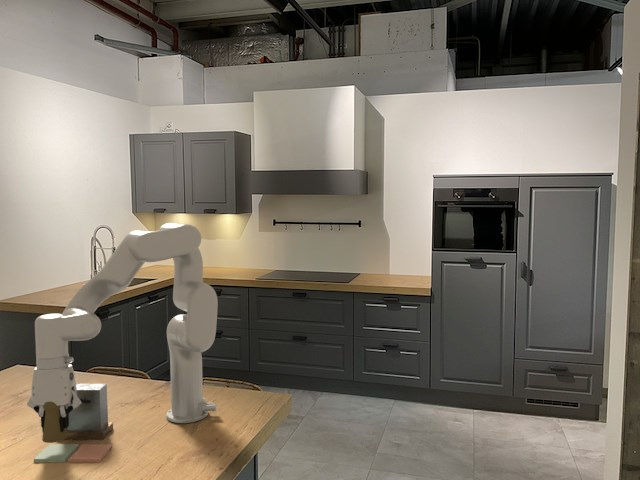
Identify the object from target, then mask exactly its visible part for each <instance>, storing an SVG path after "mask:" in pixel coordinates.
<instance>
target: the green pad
mask: <svg viewBox="0 0 640 480" xmlns="http://www.w3.org/2000/svg"><path fill="white" fill-rule="evenodd" d="M79 447H80V445H79V444H48V445H47V446H46V447H45V448H44V449H43V450H42V451H40V452H39V454H37V455H36V456H35V457H33V463H57V462H58V463H66V462H67V460H69V458H70V457H71V456H72V455H73V454H74V453H75V452H76V451H77V450H78V448H79Z"/></svg>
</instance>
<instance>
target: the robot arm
mask: <svg viewBox="0 0 640 480" xmlns="http://www.w3.org/2000/svg"><path fill="white" fill-rule="evenodd" d="M201 243H202V234H201V232H200V230H199V229H198V228H197V227H196V226H194V225H192V224H189V223H179V222H167V223H165V224H163V225H161V226H159V229H158V230H153V231H146V230H132V231H130V232H129V233H127V235H125V236H124V238H123V239H122V241H121V242H120V243H119V245H118V246H117V247H116V248H115V250H114V252H113V253H112V254H111V255H110V257H109V258H108V260H107V261H106V262H105V263H104V265H103V266H102V268H101V269H100V270H99V271H98V272H97V273H96V274H95V275H94V276H93V277H92V278H91V279H90V280H88V281H87V282H86V283H85V284H84V285H83V286H81V288H80V289H79V290H78V291H77V292H76V293H75V295H74V296H73V297H72V298H71V299H70V301H69V303H68V304H67V305H66V307H65V308H64V310H63V312H62V313H47V314H42V315H39V316H38V317H36V319H35V321H34V336H35V338H34V340H35V356H36V357H35V359H36V361H35V363H36V366H35V367H34V368H33V374H32V380H31V381H32V382H31V396H30V398H29V399H28V401H27V403H26V405H27V406H28V407H29V408H30V409H32V410H33V411H34V412H36V414H38V417H39V418H40V426H41V427H40V428H41V429H42V430H41V431H42V433H43V431H44V422H45V410H44V409H43V405H44V403H46V402H54V403H55V404H56V405H57V406H60V412H61V417H60V418H59V423H60V431H61V432H63V431H64V428H66V429H67V428H68V426H69V413H70V412H71V411H72V410H73V409H74V408H76V407H78V406H79V405H80V404H81V401H80V399H79V398H78V396H77V388H76V384H77V381H76V377H75V376H76V375H75V370H74V368H73V365H72V363H74V357H73V356H70V354H69V342H71V341H76V342H77V341H78V342H79V341H89V340H91V339H93V338H95V337H97V336H98V335H99V333H100V332H101V330H102V322H101V319H100V318H99V316H97V315H96V314H95V312H96V310H97V309H98V308H99V307H100V306H101V304H102V303H103V302H105V301H106V300H107V299H108V298H110V297H112V296H114V295H117V294H119V293H121V292H123V291H125V290H126V289H127V288H128V287H129V285H130V284H131V282H133V280H134V279H135V277H136V276H137V274H138V272H139V271H140V270H141V268H142V267H143V266H144V264H145V263H157V262H162V261H166V260H170V259H172V260H173V264H174V265H173V266H174V271H173V272H174V274H173V275H174V277H173V287H172V288H173V290H172V291H173V292H172V301H173V305H174V306H175V307H176V308H178V309H180V310H181V311H184V312H186V313H185V314H184V313H183V314H182V313H181V314H177V315H175V316H173V318H171V319H170V321H169V322H168V325H167V327H166V339H167V344H168V351H169V360H170V361H169V362H170V363H169V364H170V366H169V367H170V369H169V370H170V403H171V404H170V405H171V408H170V409H168V410H167V412H166V415H165V417H166V419H167V420H168V421H169V422H171V423H175V424H189V423H190V424H191V423H194V422H199V421H201V420H203V419H205V418H207V416H208V415H209V411H210V412H217V410H218V406H217V404H215V402H212V401H211V402H208V401H206V397H203V386H204V385H203V357H202V356H203V355H202V353H204V352H206V351H207V350H209V349H210V348H211V347H212V345H214V341H215V338H216V334H217V323H218V322H217V321H218V320H217V319H218V309H219V308H218V305H219V304H218V303H219V302H218V295H217V293H216V291H215V289H214V288H213V287H212V286H211V285H210V284H207V283H205V282H204V277H203V276H204V261H203V257H202V256H203V255H202V253H201V251H200V248H199V247H200V246H201ZM71 400H72V401H73V404H71V405H70V406H69V404H70V401H71Z"/></svg>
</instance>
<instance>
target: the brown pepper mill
mask: <svg viewBox="0 0 640 480" xmlns="http://www.w3.org/2000/svg"><path fill="white" fill-rule="evenodd" d="M43 409H44V410H45V422H44V431H43V432H42V439H41V440H42V442H43V443H47V444H53V443H58V442H59V443H60V442H62V441H65V440H64V439H66V438H67V436H68V434H67V429H66V428H64V431H63V432H61V431H60V423H59V418H60V417H61V412H60V406H57V405H56V404H55V403H54V402H46V403H44V405H43Z"/></svg>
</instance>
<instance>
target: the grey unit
mask: <svg viewBox="0 0 640 480" xmlns="http://www.w3.org/2000/svg"><path fill="white" fill-rule="evenodd" d="M76 388H77V396H78V398H79V399H80V401H81V404H80V405H79V406H78V407H76V408H74V409H73V410H72V411H71V412H70V413H69V426H68V428H67V434H68V436H67V438H66V439H64V440H63V441H83V440H84V441H93V440H94V441H99V440H100V441H101V440H103V441H104V440H105V439H106V438H107V436H109V434H110V433H111V432H112V431H113V429H114V422H113V421H110V422H109V412H108V411H109V410H108V385H107V383H76ZM71 404H73V401H72V400H71V401H70V404H69V406H70V405H71Z"/></svg>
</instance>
